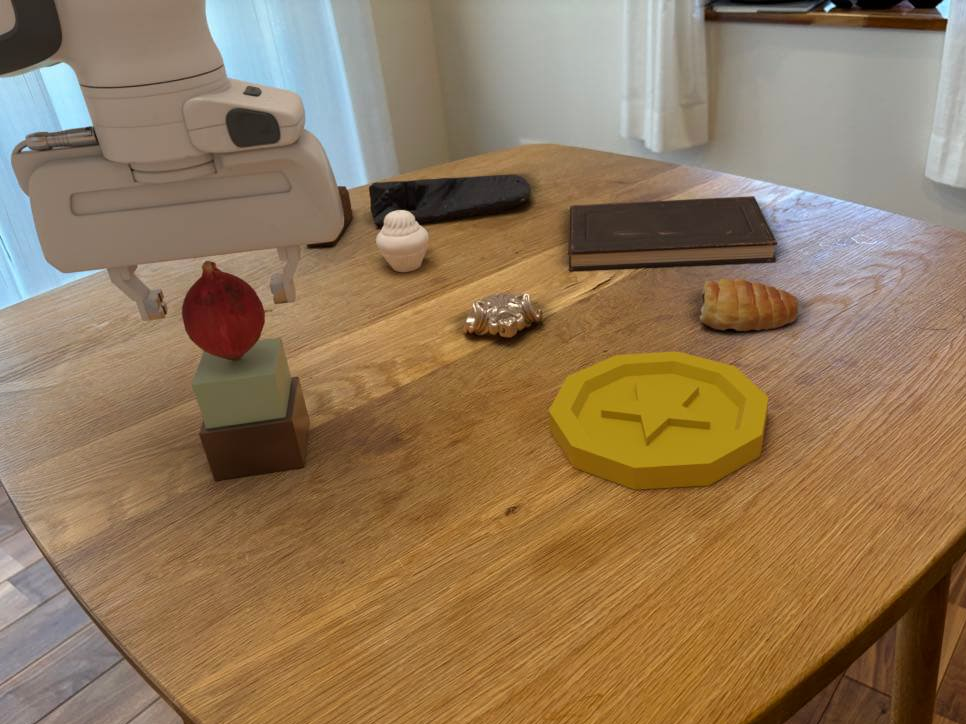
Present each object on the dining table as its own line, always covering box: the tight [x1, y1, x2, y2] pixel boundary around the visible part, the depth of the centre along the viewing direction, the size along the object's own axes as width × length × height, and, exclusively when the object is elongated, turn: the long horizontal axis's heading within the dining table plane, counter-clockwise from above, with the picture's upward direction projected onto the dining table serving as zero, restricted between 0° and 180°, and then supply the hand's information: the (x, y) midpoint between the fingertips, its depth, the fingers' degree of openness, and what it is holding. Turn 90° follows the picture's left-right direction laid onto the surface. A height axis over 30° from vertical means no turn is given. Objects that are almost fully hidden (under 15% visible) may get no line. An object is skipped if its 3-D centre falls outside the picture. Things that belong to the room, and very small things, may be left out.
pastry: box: [699, 277, 799, 332], centre depth 83 cm, size 9×7×4 cm
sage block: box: [191, 336, 292, 429], centre depth 67 cm, size 6×6×4 cm
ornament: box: [462, 292, 544, 338], centre depth 85 cm, size 8×7×4 cm
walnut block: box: [198, 375, 311, 482], centre depth 70 cm, size 7×7×4 cm
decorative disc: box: [548, 350, 770, 491], centre depth 69 cm, size 17×18×2 cm
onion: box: [181, 260, 266, 361], centre depth 64 cm, size 6×6×8 cm
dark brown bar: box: [306, 185, 354, 248], centre depth 112 cm, size 11×4×5 cm, turn 177°
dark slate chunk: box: [368, 173, 531, 227], centre depth 118 cm, size 15×22×5 cm
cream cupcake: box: [375, 210, 430, 273], centre depth 100 cm, size 6×6×7 cm
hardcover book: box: [567, 195, 778, 272], centre depth 102 cm, size 16×23×2 cm
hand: (221, 308), depth 64 cm, fingers open, 8 cm apart
